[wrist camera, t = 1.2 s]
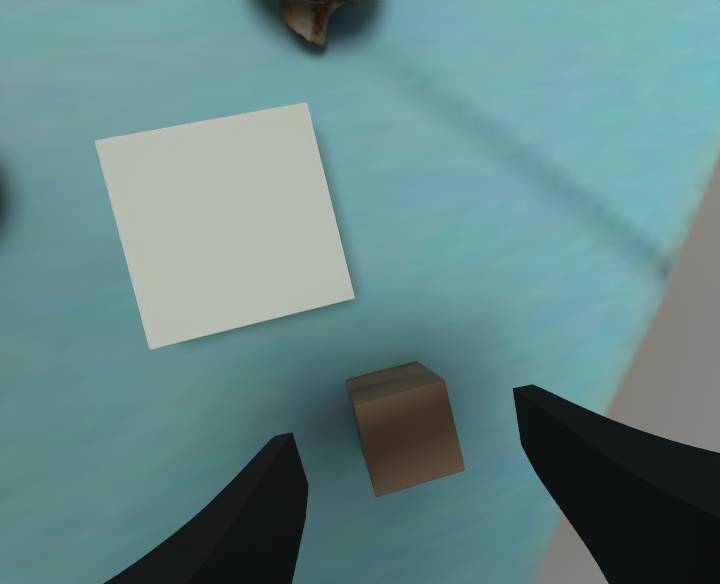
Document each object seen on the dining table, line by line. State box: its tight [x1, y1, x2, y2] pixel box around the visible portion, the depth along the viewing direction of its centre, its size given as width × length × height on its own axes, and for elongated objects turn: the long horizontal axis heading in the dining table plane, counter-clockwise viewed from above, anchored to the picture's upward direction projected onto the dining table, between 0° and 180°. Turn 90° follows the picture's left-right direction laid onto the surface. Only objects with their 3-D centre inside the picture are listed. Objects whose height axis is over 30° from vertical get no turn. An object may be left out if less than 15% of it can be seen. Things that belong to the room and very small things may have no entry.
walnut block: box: [346, 361, 465, 497], centre depth 20 cm, size 4×4×5 cm
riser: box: [95, 102, 355, 349], centre depth 20 cm, size 10×10×4 cm
